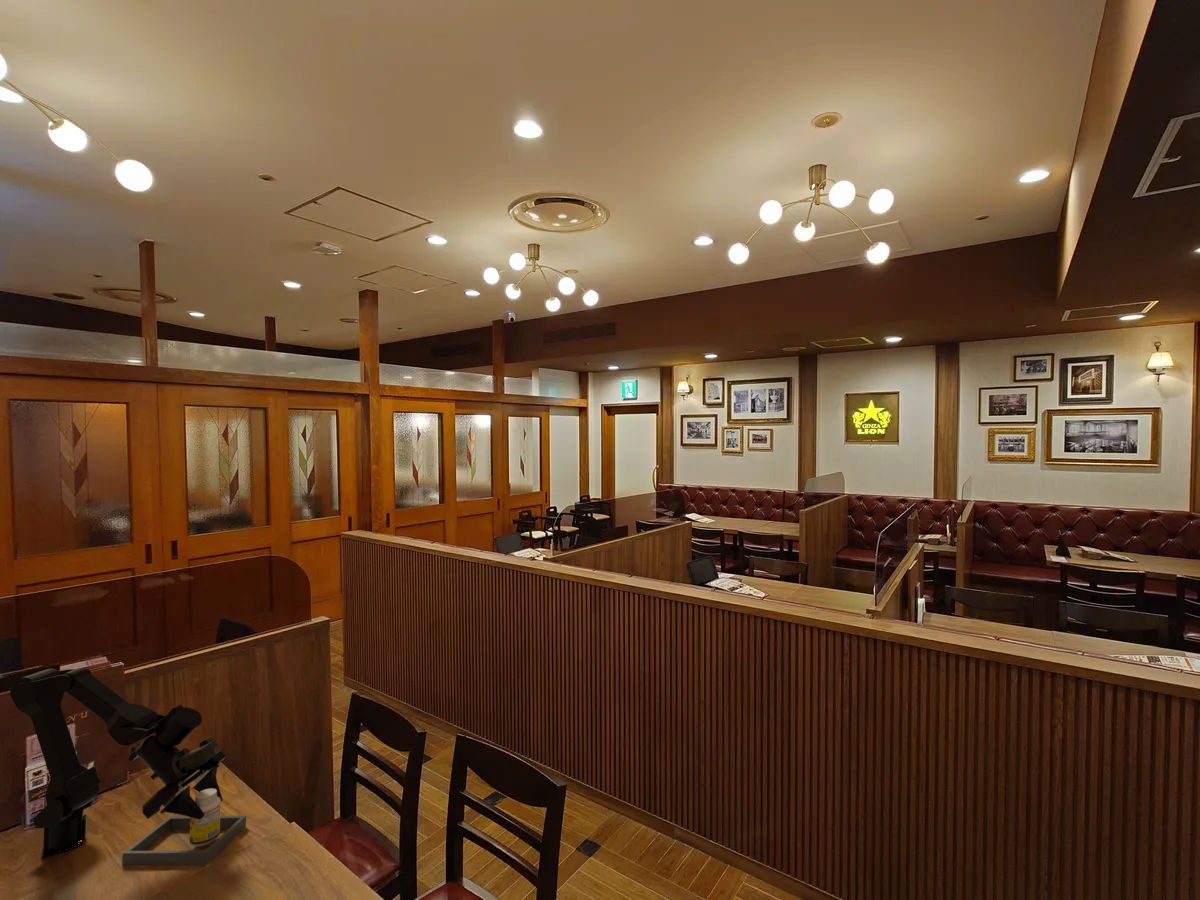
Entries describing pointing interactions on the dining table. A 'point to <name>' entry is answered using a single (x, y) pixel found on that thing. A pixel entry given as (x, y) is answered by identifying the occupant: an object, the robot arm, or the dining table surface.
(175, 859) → the gray open frame
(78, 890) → the dining table surface
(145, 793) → the dining table surface
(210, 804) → the supplement bottle
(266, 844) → the dining table surface
